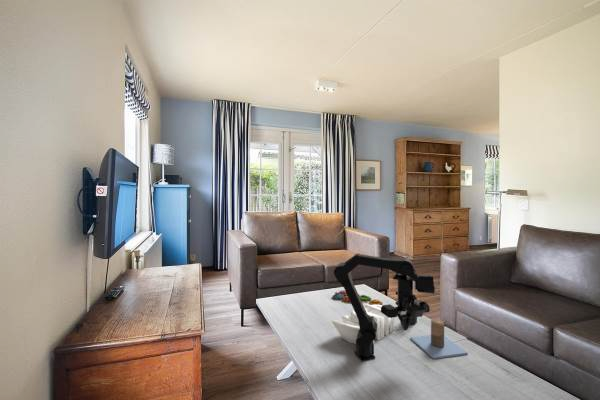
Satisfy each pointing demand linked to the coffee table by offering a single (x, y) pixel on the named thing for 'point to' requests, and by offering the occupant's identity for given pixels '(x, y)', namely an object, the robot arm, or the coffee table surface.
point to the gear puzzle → (344, 298)
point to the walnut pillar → (437, 333)
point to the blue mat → (436, 352)
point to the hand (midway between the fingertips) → (405, 330)
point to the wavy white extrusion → (351, 327)
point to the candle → (414, 320)
